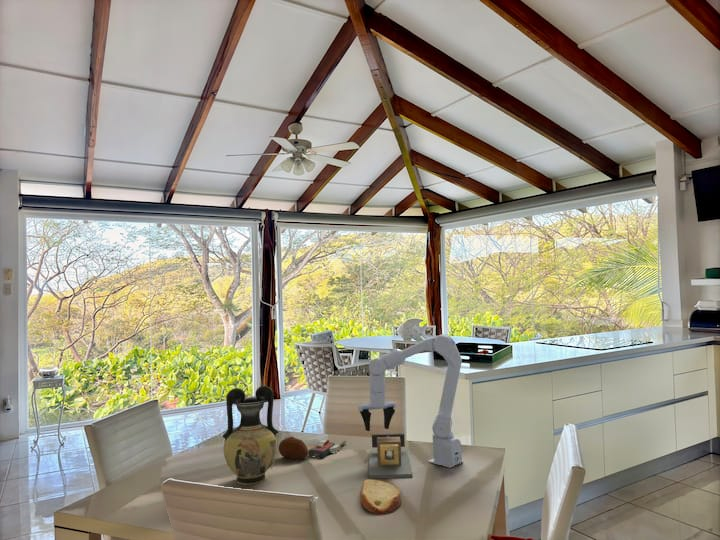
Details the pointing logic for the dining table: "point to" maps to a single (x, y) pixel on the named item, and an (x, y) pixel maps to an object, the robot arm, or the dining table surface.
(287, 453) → the potato
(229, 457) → the amphora
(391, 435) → the grey and silver t-piece
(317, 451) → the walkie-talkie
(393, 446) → the collar
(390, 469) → the mat
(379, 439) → the bearing block
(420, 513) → the dining table surface
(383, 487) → the slice of bread
